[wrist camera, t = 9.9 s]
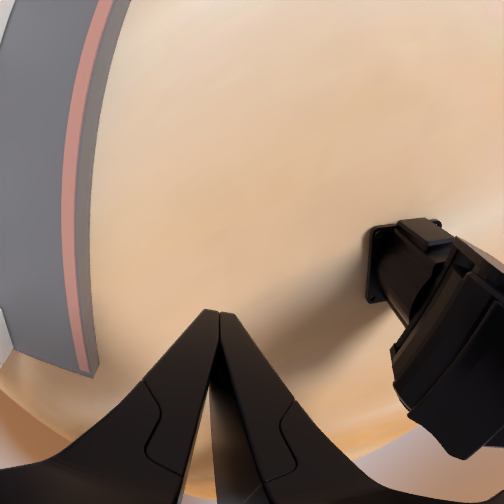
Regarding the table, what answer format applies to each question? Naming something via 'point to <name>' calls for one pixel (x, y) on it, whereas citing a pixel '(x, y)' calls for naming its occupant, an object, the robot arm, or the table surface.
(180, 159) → the table surface
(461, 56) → the table surface
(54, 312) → the grey tray with blocks
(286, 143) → the table surface
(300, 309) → the table surface
